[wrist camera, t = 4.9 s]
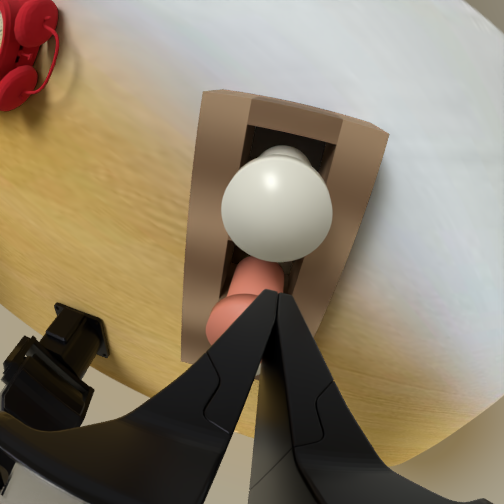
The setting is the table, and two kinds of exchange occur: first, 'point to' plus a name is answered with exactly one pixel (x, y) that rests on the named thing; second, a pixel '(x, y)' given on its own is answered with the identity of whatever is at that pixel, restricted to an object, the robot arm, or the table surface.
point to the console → (227, 165)
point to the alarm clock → (23, 47)
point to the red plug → (243, 293)
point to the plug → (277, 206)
